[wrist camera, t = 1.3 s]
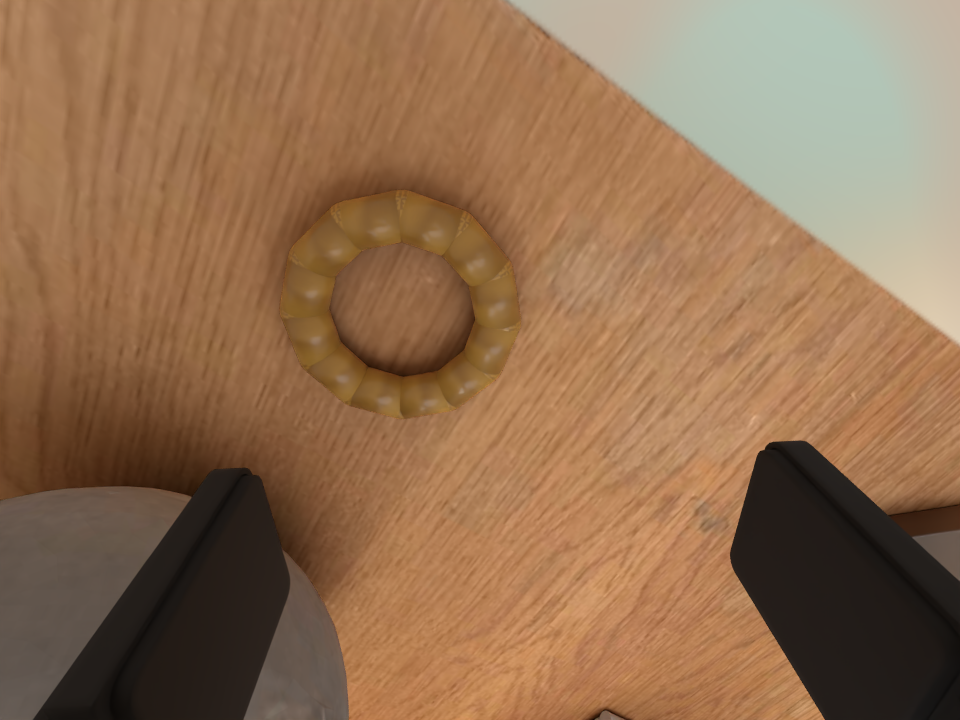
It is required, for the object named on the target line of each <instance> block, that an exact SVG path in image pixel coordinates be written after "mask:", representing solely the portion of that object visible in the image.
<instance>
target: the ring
mask: <svg viewBox="0 0 960 720" xmlns="http://www.w3.org/2000/svg"><path fill="white" fill-rule="evenodd" d="M401 242H403V243H405V244H408V245H411V246H414V247H417V248H420V249H423V250H426V251H429V252H432V253H435V254H438V255H441V256H443V258H444V259H445V260H446V261H447V262H448V263H449V264H450V265H451V266H452V267H453V269H454V270H455V271H456V272H457V273H458V274H459V275H460V276H461V277H462V278H463V280H464V281H465V282H466V283H467V284H468V286H469V291H470V295H471V300H472V305H473V310H474V315H475V322H474V324H473V327H472V330H471V333H470V335H469V338H468V341H467V343H466V346H465V349H464V350H463V351H462V352H461V353H460V354H458V355H457V356H456V357H455V358H453V359H452V360H451V361H450V362H448V363H447V364H446V365H445V366H443V367H442V368H441V369H440V370H438V371H433V372H428V373H422V374H417V375H411V376H406V377H402V376H399V375H395V374H392V373H388V372H385V371H381V370H378V369H374V368H371V367H368V366H367V365H366V364H365V363H363V362H362V361H361V360H360V359H359V358H358V357H357V356H356V355H355V354H354V353H352V352H351V351H350V350H349V349H348V348H347V347H346V346H345V345H344V344H343V343H341V341H340V338H339V335H338V333H337V330H336V327H335V324H334V321H333V318H332V315H331V313H330V310H329V307H330V302H331V298H332V294H333V289H334V285H335V280H336V276H337V274H338V273H339V272H340V271H341V270H343V269H344V268H345V267H346V266H347V265H348V264H349V263H350V262H351V261H352V260H353V259H354V258H355V257H356V256H357V255H358V254H359V253H360V252H361V251H363V250H366V249H371V248H376V247H381V246H386V245H391V244H396V243H401ZM279 311H280V315H281V318H282V321H283V323H284V325H285V328H286V330H287V333H288V335H289V338H290V340H291V343H292V345H293V348H294V350H295V353H296V355H297V358H298V360H299V362H300V364H301V366H302V367H303V369H304V370H305V371H307V372H308V373H309V374H310V375H311V376H313V377H314V378H315V379H316V380H317V381H318V382H320V383H321V384H322V385H323V386H324V387H325V388H327V389H328V390H329V391H330V392H331V393H333V394H334V395H335V396H336V397H337V398H338V399H340V400H341V401H342V402H343V403H345V404H346V405H349V406H352V407H356V408H359V409H363V410H367V411H371V412H374V413H378V414H382V415H385V416H389V417H393V418H396V419H408V418H414V417H420V416H425V415H431V414H437V413H442V412H448V411H453V410H456V409H457V408H459V407H461V406H462V405H463V404H465V403H466V402H467V401H468V400H470V399H471V398H472V397H474V396H475V395H476V394H478V393H479V392H480V391H482V390H483V389H484V388H486V387H487V386H488V385H490V384H491V383H492V382H493V381H495V380H496V379H497V378H498V377H499V376H500V374H501V372H502V371H503V368H504V366H505V363H506V361H507V359H508V356H509V354H510V351H511V349H512V346H513V344H514V342H515V339H516V337H517V334H518V332H519V330H520V327H521V314H520V308H519V302H518V296H517V290H516V283H515V277H514V271H513V266H512V264H511V262H510V260H509V259H508V257H507V256H506V255H505V254H504V253H503V251H502V250H501V249H500V248H499V247H498V245H497V244H496V243H495V242H494V241H493V240H492V238H491V237H490V236H489V235H488V234H487V232H486V231H485V230H484V229H483V228H482V227H481V225H480V224H479V223H478V222H477V221H476V220H475V218H474V217H473V216H472V215H471V214H470V213H468V212H467V211H465V210H462V209H460V208H457V207H454V206H451V205H448V204H445V203H443V202H440V201H437V200H434V199H431V198H428V197H426V196H423V195H420V194H417V193H414V192H412V191H408V190H394V191H389V192H384V193H379V194H374V195H370V196H365V197H360V198H355V199H350V200H345V201H341V202H338V203H336V204H334V205H333V206H332V207H331V208H330V209H329V210H328V211H327V212H326V213H325V214H324V215H323V216H322V217H321V218H320V219H319V220H318V221H317V222H316V223H315V224H314V225H313V226H312V227H311V228H310V229H309V230H308V231H307V232H306V233H305V234H304V235H303V236H302V237H301V238H300V239H299V240H298V241H297V242H296V243H295V244H294V245H293V247H292V248H291V250H290V252H289V255H288V260H287V265H286V271H285V277H284V283H283V288H282V294H281V300H280V307H279Z"/></svg>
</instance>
